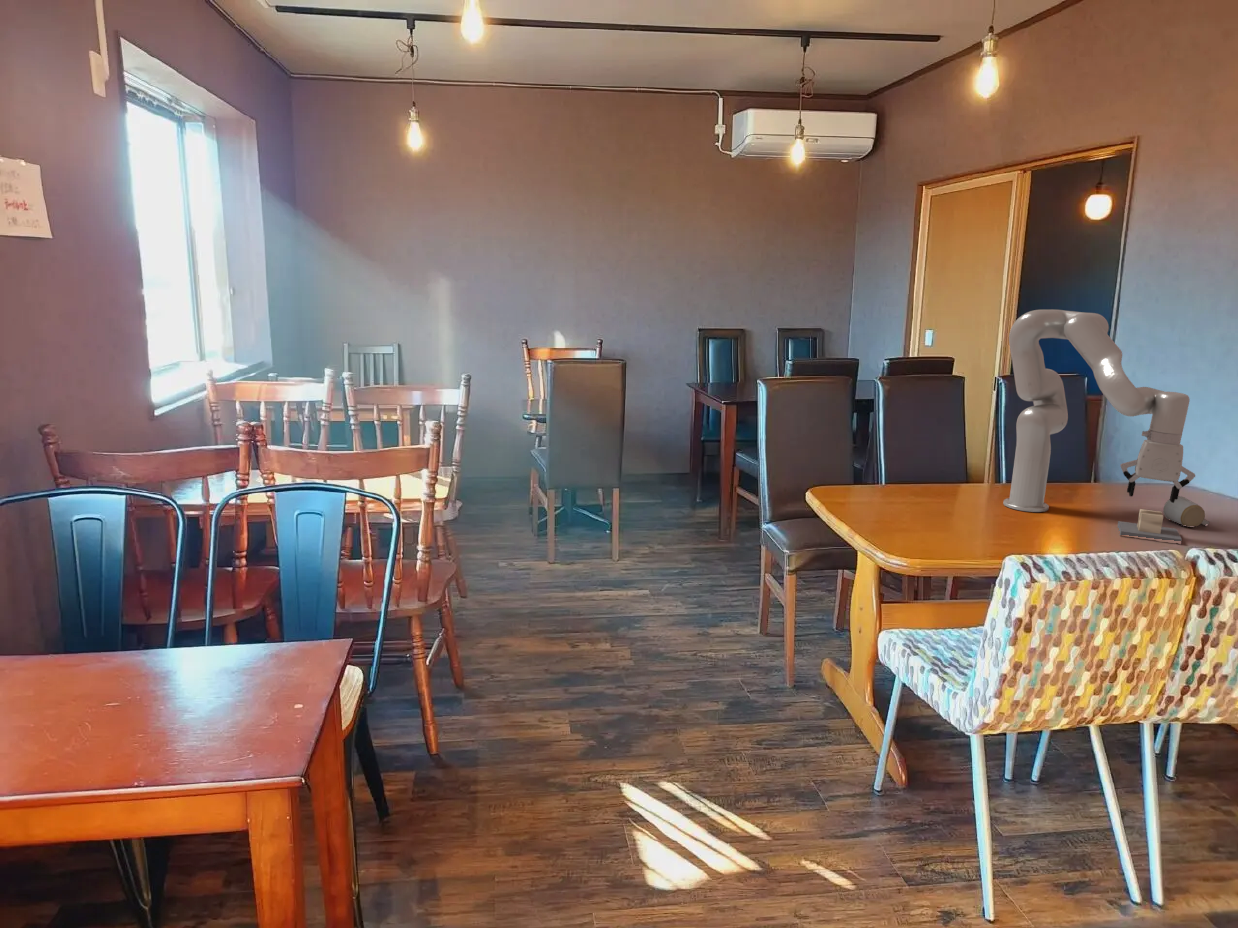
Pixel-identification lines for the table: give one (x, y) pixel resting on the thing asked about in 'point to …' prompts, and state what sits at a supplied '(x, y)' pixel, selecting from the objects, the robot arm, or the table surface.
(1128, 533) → the serving board
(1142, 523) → the beech cube
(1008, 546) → the table surface
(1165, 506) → the ceramic mug
